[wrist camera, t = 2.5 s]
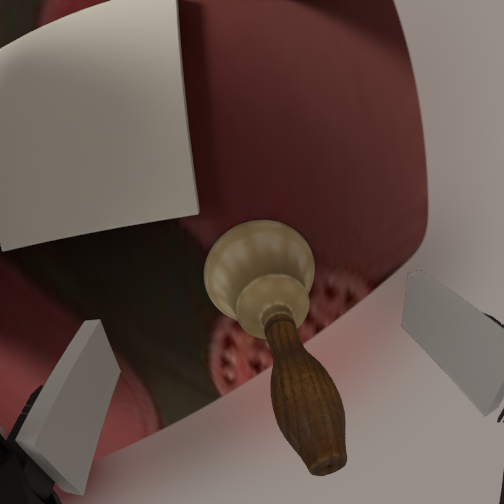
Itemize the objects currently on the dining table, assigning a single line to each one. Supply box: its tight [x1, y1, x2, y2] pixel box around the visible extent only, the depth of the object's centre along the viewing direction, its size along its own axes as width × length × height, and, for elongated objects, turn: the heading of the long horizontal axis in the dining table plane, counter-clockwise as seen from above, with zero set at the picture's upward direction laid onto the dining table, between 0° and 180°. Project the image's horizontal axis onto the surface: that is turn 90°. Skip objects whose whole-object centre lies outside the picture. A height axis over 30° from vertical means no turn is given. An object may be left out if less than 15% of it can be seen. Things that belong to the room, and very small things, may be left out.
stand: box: [0, 0, 200, 252], centre depth 16 cm, size 16×16×2 cm
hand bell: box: [204, 220, 347, 476], centre depth 15 cm, size 8×8×16 cm
